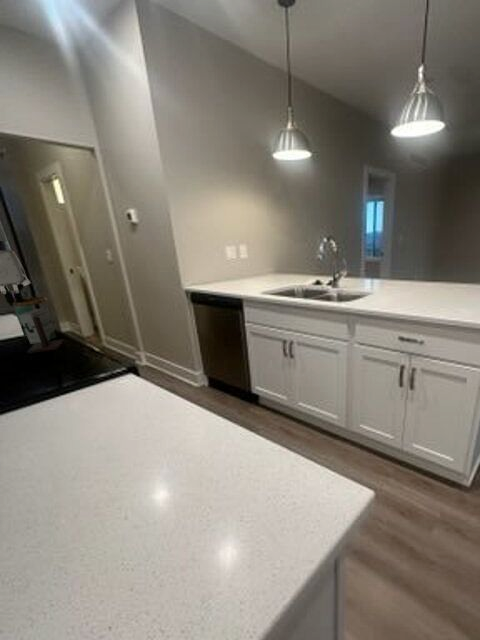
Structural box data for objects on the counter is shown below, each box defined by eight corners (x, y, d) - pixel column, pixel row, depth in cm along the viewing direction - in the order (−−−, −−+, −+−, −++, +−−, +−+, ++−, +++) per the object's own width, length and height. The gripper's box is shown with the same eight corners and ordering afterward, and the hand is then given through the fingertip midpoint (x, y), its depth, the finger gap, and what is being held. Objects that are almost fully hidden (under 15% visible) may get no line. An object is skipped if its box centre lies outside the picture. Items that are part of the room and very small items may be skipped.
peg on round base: (28, 355, 119) (15, 323, 114) (36, 347, 127) (25, 316, 122) (58, 350, 122) (47, 319, 117) (64, 342, 129) (54, 313, 125)
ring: (8, 307, 112) (7, 304, 112) (19, 302, 120) (18, 298, 120) (42, 304, 115) (41, 300, 114) (50, 298, 123) (49, 295, 123)
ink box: (45, 337, 137) (35, 308, 133) (57, 336, 137) (47, 307, 133) (29, 344, 129) (17, 314, 125) (41, 344, 129) (30, 313, 125)
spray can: (37, 332, 145) (20, 284, 137) (42, 334, 142) (25, 285, 134) (22, 336, 141) (3, 287, 133) (27, 338, 138) (8, 288, 130)
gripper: (-42, 250, 104) (-17, 310, 111) (19, 246, 108) (40, 303, 115) (-30, 249, 110) (-7, 305, 117) (27, 245, 115) (46, 299, 122)
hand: (16, 304), depth 116 cm, fingers closed on ring, 1 cm apart
